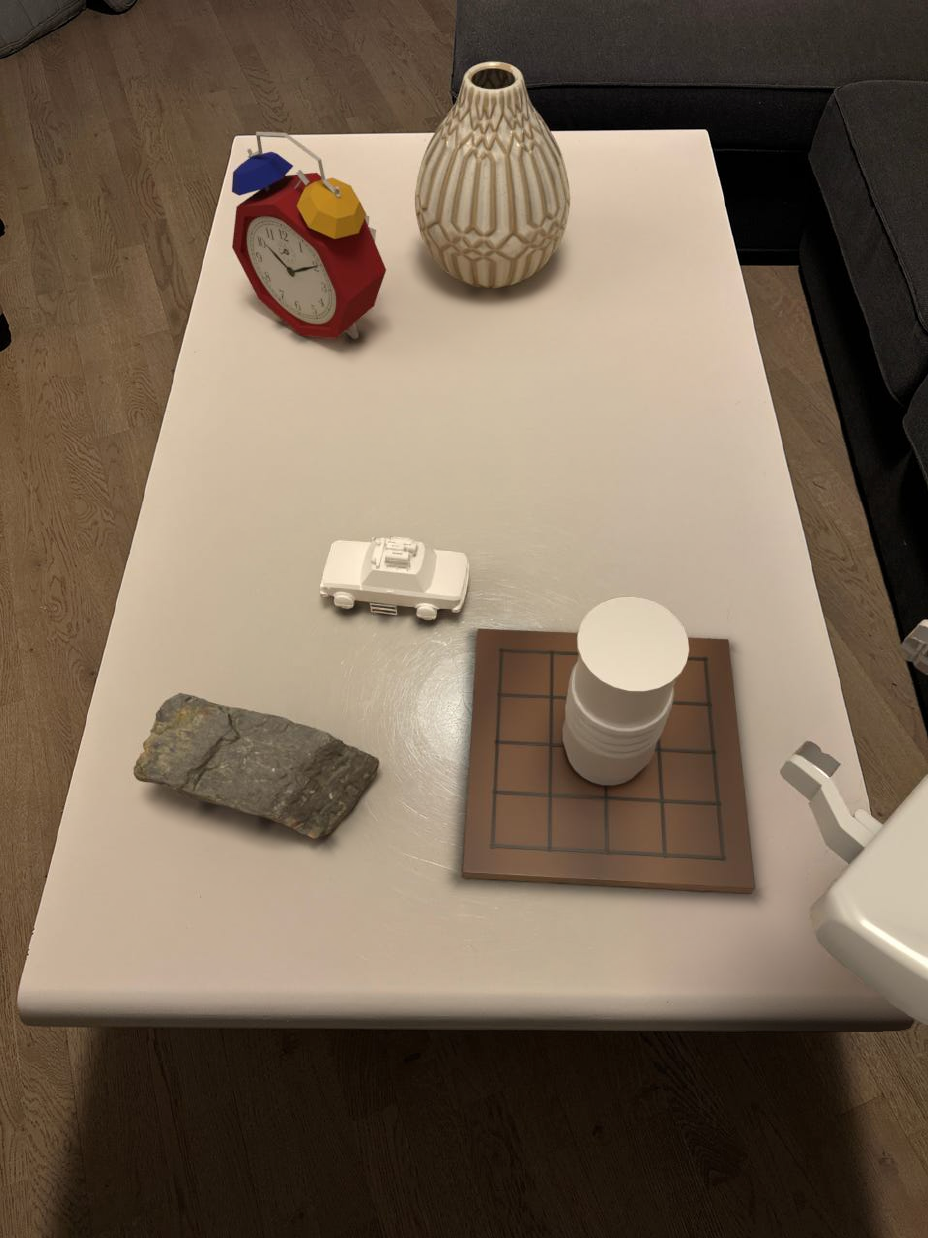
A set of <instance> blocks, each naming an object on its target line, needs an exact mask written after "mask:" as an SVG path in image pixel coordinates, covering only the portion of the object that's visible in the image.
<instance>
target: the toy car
mask: <svg viewBox="0 0 928 1238" xmlns="http://www.w3.org/2000/svg"><path fill="white" fill-rule="evenodd" d="M330 546H331V547H330V549H329V552H328V555H327V558H326V561H325V565H324V568H323V573H322V577H321V581H320V584H319V595H320V597H322V598H326V597H329V596H331V597H333V598H334V599H333V604H334V605H335V607H338V608H339V607H340V608H342V609H344V610H349V609H353V607H354V605H355V601H358V602H366V603H367V602H368V603H369V605H370V606H369V607H370V612H371V613H377V614H385V615H393V616H398V608H397V606H400V607H410V608H414V609H416V616H417V617H418V618H419V619H421V618H422V619H423V620H425V621H432V620H433V621H434V620H435V619H436V618H437V614H438V611H439V610H440V609H444V610H451V612H452V613H456V614H459V613H460V612H461V610H462V608H463V605H464V603H465V599H466V595H467V592H468V588H469V587H468V586H469V581H470V580H469V578H470V565H469V559H468V556H467V555H466V554H465V552H459V551H451V550H441V549H434V548H432V547H431V546H429V545H428V544H426V543H424V542H423V541H422V542H421V541H416V540H415V539H414V538H412V537H411V538H410V537H403V536H401V537H400V536H395V535H393V536H390V537H389V538H388V537H379V538H377V536H372V538H371V542H369V541H358V540H357V541H356V540H344V539H338V540H337V539H336V540H335V541H334V542H332V543H331V545H330ZM372 605H373V606H372ZM376 606H377V607H376ZM378 606H381V607H378ZM384 607H388V608H384ZM392 608H394V609H392ZM376 610H381V611H376ZM385 611H388V612H385ZM389 611H390V612H389ZM394 612H395V613H394Z"/></svg>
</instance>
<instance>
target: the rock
mask: <svg viewBox="0 0 928 1238" xmlns="http://www.w3.org/2000/svg"><path fill="white" fill-rule="evenodd" d="M149 733H150V734H149V736H148V737H147V738H146V739H145V740H144V741H143V743H142V747H143V750H144V751H143V752H141V753H140V754H139V757H138V758H137V760H136V761H135V765H134V766H133V776H134V777H135V779H136V780H137V781H138V782H142V783H146V784H147V783H148V784H155V785H159V786H165V787H168V788H170V789H172V790H173V791H175V792H177V793H178V794H180V795H183V796H186V797H188V798H191V799H195V800H198V801H200V802H203V803H210V804H211V805H215V806H221V807H225V808H228V809H231V810H233V811H236V812H240V813H245V814H248V815H254V816H259V817H261V818H264V819H268V820H270V821H273V822H276V823H279V824H282V825H283V826H285V827H288V828H290V829H292V830H294V831H296V832H297V833H299V834H303V835H305V836H308V837H310V838H311V839H317V838H319V837H322V836H328V835H329V834H330V833H331V832H332V831H333V830H334V829H335V828H336V827H337V826H338V824H339V823H340V822H341V821H342V820H343V818H345V817H346V816H347V814H348V813H349V812H350V811H351V810H352V809H353V808H354V807H355V805H356V803H357V801H358V799H359V797H360V796H361V794H362V793H363V791H364V790H365V789H366V787H367V786H368V785H369V784H370V783H371V781H372V780H373V779H374V777H375V776H376V774H377V771H378V769H379V767H380V760H379V758H378V757H376V756H374V755H372V754H370V753H368V752H366V751H363V750H360V749H359V748H358V747H356V746H353V745H349V744H346V743H344V741H343V740H341V739H339V738H336V737H335V736H333V735H331V734H330V733H329V732H325V731H322V730H321V729H318V728H315V727H311V726H309V725H305V724H302V723H301V724H300V723H296V722H294V721H292V720H290V719H289V718H287V717H283V716H281V715H275V714H270V713H263V712H259V711H254V710H248V709H246V708H241V707H235V706H228V705H224V704H218V703H215V702H211V701H208V700H206V699H205V698H200V697H198V696H196V695H192V694H187V693H183V692H179V693H177V694H175V695H173V696H171V697H169V698H168V699H166V700H165V701H164V702H163V703H162V704H161V705H160V706H159V709H158V710H157V711H156V712H155V719H154V722H153V724H152V728H151V729H150V731H149Z"/></svg>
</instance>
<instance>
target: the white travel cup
mask: <svg viewBox="0 0 928 1238" xmlns="http://www.w3.org/2000/svg"><path fill="white" fill-rule="evenodd" d="M577 633H578V636H577V650H578V654H579V656H578V661H577V663H576V664H575V666H574V668H573V669H572V673H571V676H570V680H569V687H568V694H567V699H566V705H565V722H564V725H563V729H562V732H563V743H564V746H565V749H566V753H567V756H568V759H569V762H570V763H571V765H572V766H573V768H574V769H575V771H576V772H577V773H579V774H580V775H581V776H582V777H583V778H585V779H587V780H589V781H590V782H592V783H596V784H600V785H618V784H622V783H625V782H627V781H629V780H630V779H632V778H633V777H634V776H635V775H636V774H638V773H639V772H640V771H641V770H642V769H643V768H644V767H645V766H646V765H647V764H648V763H649V761H650V760H651V758H652V756H653V754H654V751H655V746H656V743H657V741H658V739H659V738H660V736H661V734H662V732H663V729H664V726H665V724H666V720H667V718H668V715H669V712H670V709H671V707H672V703H673V698H674V683H675V680H676V679H677V678H678V677H679V676H680V674H681V672H682V671H683V669H684V667H685V665H686V663H687V658H688V653H689V643H688V638H689V637H688V634H687V632H686V629H685V628H684V625H683V623H681V621H680V620H679V619H678V618H677V616H676V615H675V614H674V613H672V612H671V611H670V610H669V609H667V608H666V607H665V606H663V605H662V604H660V603H657V602H655V601H653V600H651V599H647V598H642V597H638V596H620V597H615V598H610V599H608V600H605V601H603V602H601V603H599V604H597V605H596V606H594V607H593V608H592V609H591V610H590V611H589V612H587V613H586V615H585V616H584V618H583V619H582V621H581V623H580V625H579V629H578V632H577Z"/></svg>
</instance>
